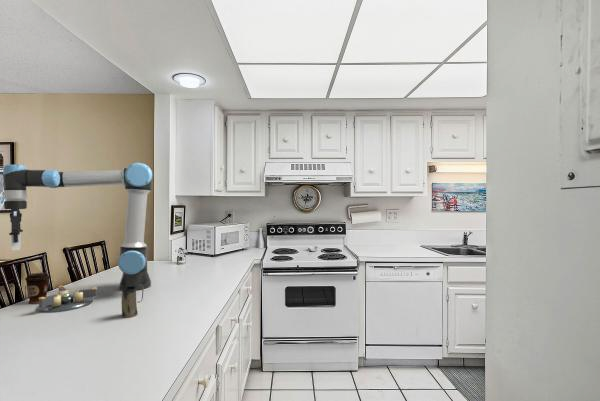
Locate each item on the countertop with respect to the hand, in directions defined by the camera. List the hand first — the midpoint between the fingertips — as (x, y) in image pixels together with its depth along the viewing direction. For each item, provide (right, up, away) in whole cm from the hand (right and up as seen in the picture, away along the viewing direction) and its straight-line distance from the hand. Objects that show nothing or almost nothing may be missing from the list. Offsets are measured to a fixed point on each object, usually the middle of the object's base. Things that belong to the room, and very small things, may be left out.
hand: (16, 248), depth 143 cm
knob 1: (+19, -24, -5) cm, 31 cm away
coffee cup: (+4, -26, +6) cm, 27 cm away
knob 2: (+15, -24, +7) cm, 29 cm away
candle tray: (+21, -25, +2) cm, 33 cm away
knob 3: (+28, -24, +4) cm, 37 cm away
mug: (+57, -25, -12) cm, 64 cm away
